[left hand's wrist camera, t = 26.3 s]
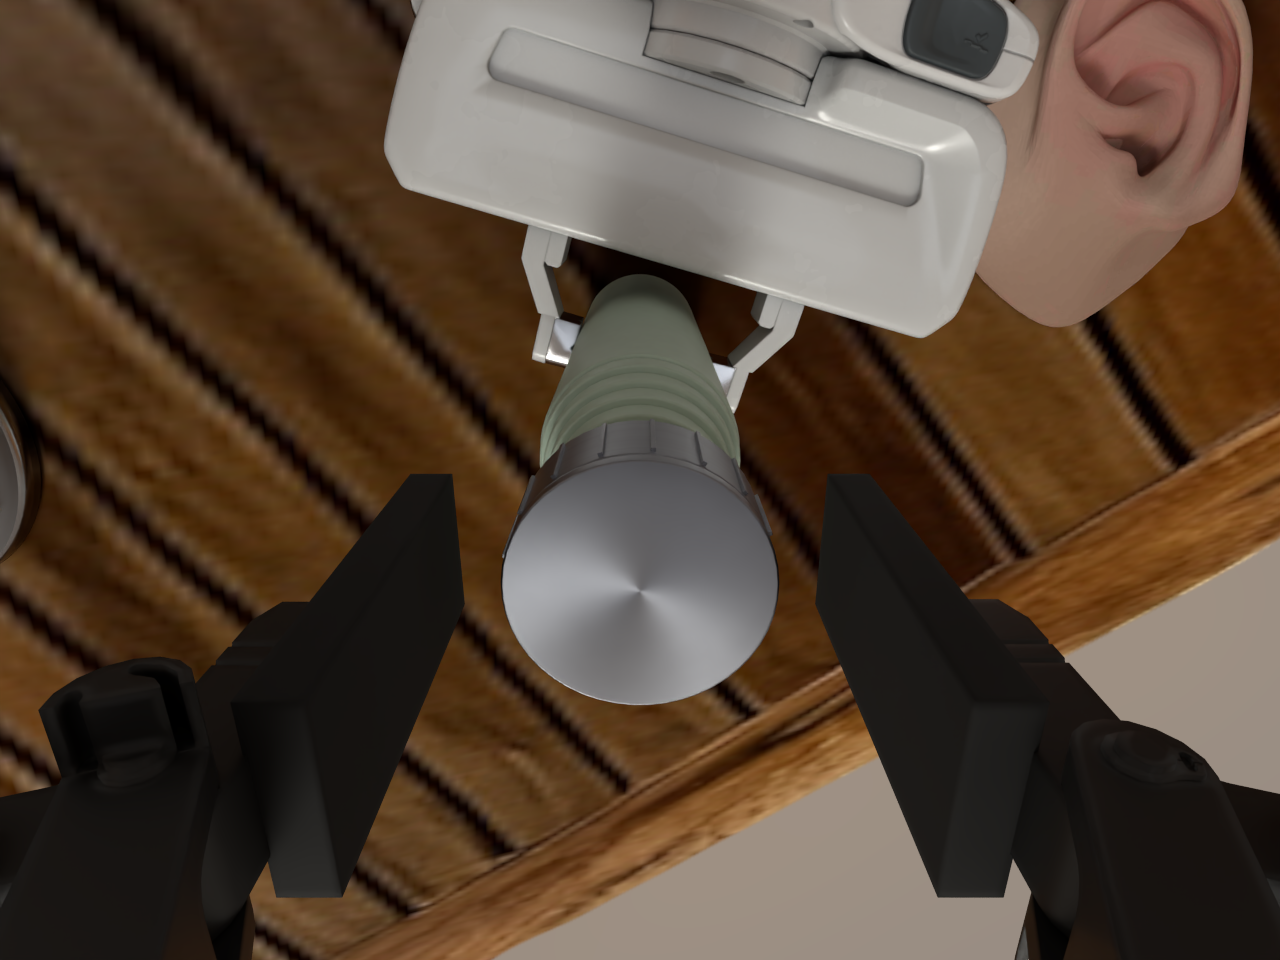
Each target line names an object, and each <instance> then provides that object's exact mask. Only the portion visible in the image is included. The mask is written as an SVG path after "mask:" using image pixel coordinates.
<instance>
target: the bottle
mask: <svg viewBox="0 0 1280 960" xmlns="http://www.w3.org/2000/svg"><path fill="white" fill-rule="evenodd" d="M650 419H654V421H657V422H664V423H669V424H672V425H676V426H680V427H683V428H686V429H688V430H690V431H693V432H696V431H698V432H700V434H701V436H703V437H705V438H706V439H708V440H710V441H711V442H713V443H714V444H715V445H717V446H718V447H719V448H721V449H722V450H723V451H724V452H725V453H726V454H727V455H728V456H729V457H730V458H731V459H733V458H735V459H736V460H737V462H738V465H739V468H740V447H739V434H738V428H737V424H736V421H735V418H734V415H733V412H732V410H731V407H730V405H729V402H728V400H727V397H726V395H725V392H724V390H723V387H722V385H721V382H720V380H719V378H718V375H717V373H716V370H715V368H714V365H713V363H712V360H711V358H710V355H709V353H708V350H707V348H706V345H705V343H704V341H703V338H702V336H701V333H700V331H699V328H698V326H697V323H696V321H695V318H694V316H693V313H692V311H691V308H690V306H689V304H688V302H687V301H686V299H685V298H684V296H683V295H682V294H681V292H680V291H679V290H678V289H677V288H675V287H674V286H673V285H672V284H670V283H669V282H667V281H665V280H663V279H661V278H658V277H655V276H651V275H645V274H635V275H629V276H624V277H622V278H619V279H617V280H615V281H613V282H611V283H610V284H608V285H607V286H606V287H605V288H603V289H602V290H601V291H600V292H599V294H598V295H597V296H596V297H595V299H594V301H593V302H592V304H591V306H590V309H589V311H588V313H587V316H586V318H585V321H584V323H583V326H582V328H581V331H580V334H579V336H578V339H577V341H576V343H575V346H574V348H573V351H572V353H571V355H570V358H569V360H568V363H567V365H566V368H565V370H564V373H563V375H562V378H561V380H560V383H559V385H558V388H557V390H556V392H555V395H554V397H553V400H552V402H551V405H550V407H549V410H548V412H547V415H546V418H545V421H544V424H543V428H542V434H541V448H540V468H541V467H542V466H543V464H544V463H545V462H546V461H547V460H548V459H549V458H550V457H551V456H552V455H553V454H554V453H555V452H556V451H557V450H558V449H559V446H560V444H562V443H564V444H566V443H567V442H569V441H570V440H572V439H574V438H575V437H577V436H579V435H581V434H583V433H585V432H587V431H590V430H592V429H595V428H597V427H600V426H602V424H603V423H606V424H607V425H608V424H612V423H615V422H623V421H632V420H649V421H650Z"/></svg>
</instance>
